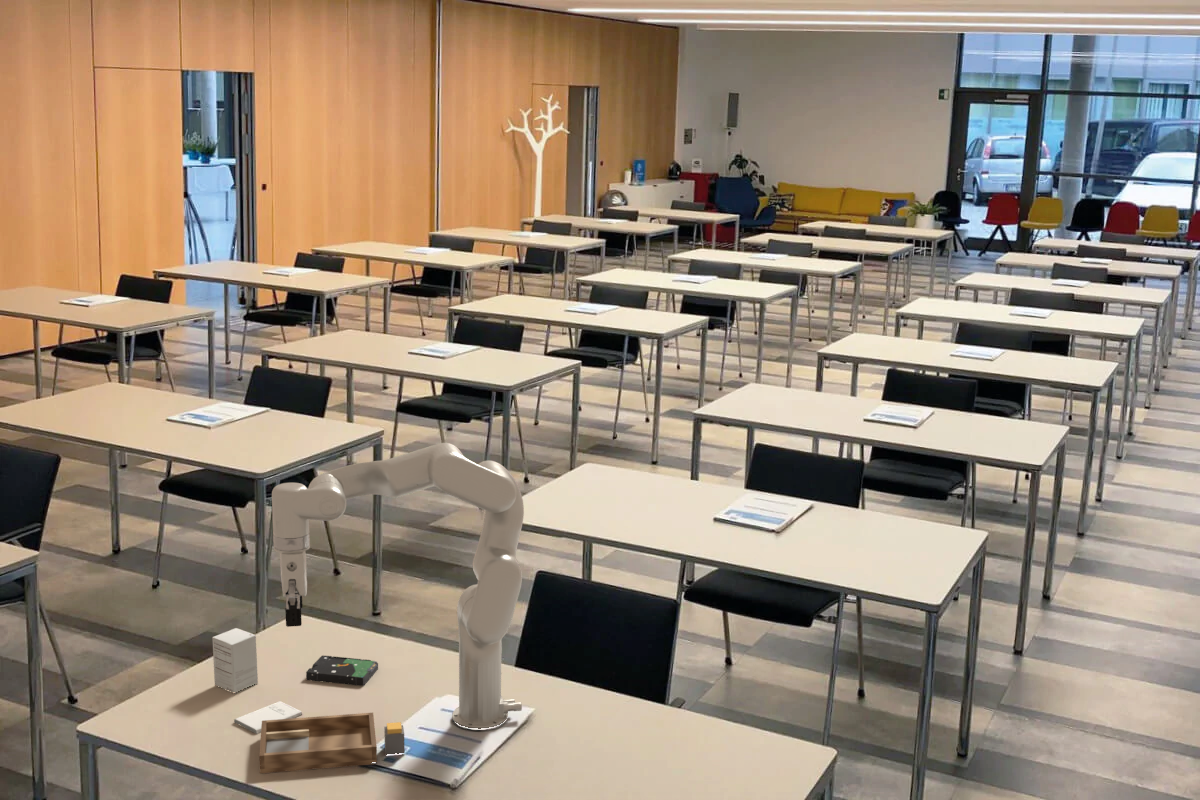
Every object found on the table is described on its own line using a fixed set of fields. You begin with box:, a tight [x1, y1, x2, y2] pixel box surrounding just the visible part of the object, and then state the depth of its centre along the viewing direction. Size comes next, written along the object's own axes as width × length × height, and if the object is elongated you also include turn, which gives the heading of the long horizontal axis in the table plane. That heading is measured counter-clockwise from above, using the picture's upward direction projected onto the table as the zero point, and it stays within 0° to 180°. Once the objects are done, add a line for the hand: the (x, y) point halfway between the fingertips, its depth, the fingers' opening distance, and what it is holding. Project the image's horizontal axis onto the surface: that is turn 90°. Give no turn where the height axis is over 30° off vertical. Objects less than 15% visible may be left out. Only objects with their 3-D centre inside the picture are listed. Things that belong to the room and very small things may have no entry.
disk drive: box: [305, 654, 379, 687], centre depth 320 cm, size 10×3×15 cm
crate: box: [258, 712, 378, 774], centre depth 283 cm, size 24×16×4 cm, turn 102°
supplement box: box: [211, 627, 259, 694], centre depth 312 cm, size 7×7×13 cm
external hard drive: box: [233, 700, 303, 735], centre depth 297 cm, size 2×8×12 cm
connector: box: [383, 721, 405, 756], centre depth 283 cm, size 4×4×6 cm
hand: (294, 616), depth 282 cm, fingers open, 9 cm apart
